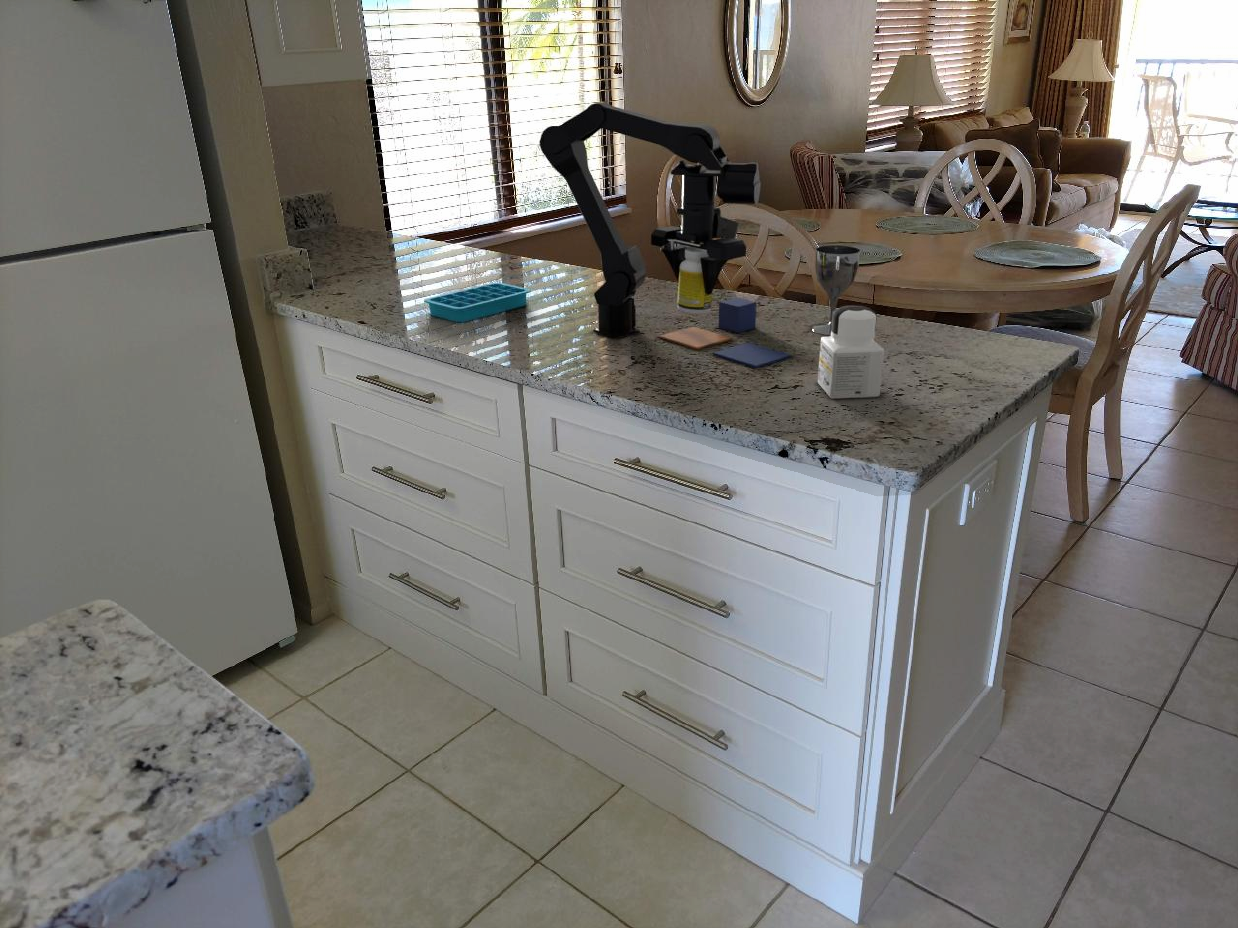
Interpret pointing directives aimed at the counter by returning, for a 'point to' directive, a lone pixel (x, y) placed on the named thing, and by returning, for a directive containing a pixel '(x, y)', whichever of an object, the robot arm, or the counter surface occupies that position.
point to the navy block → (737, 315)
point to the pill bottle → (693, 284)
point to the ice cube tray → (477, 301)
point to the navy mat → (752, 355)
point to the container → (851, 355)
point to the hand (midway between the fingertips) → (695, 290)
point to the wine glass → (835, 275)
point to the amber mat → (695, 338)
